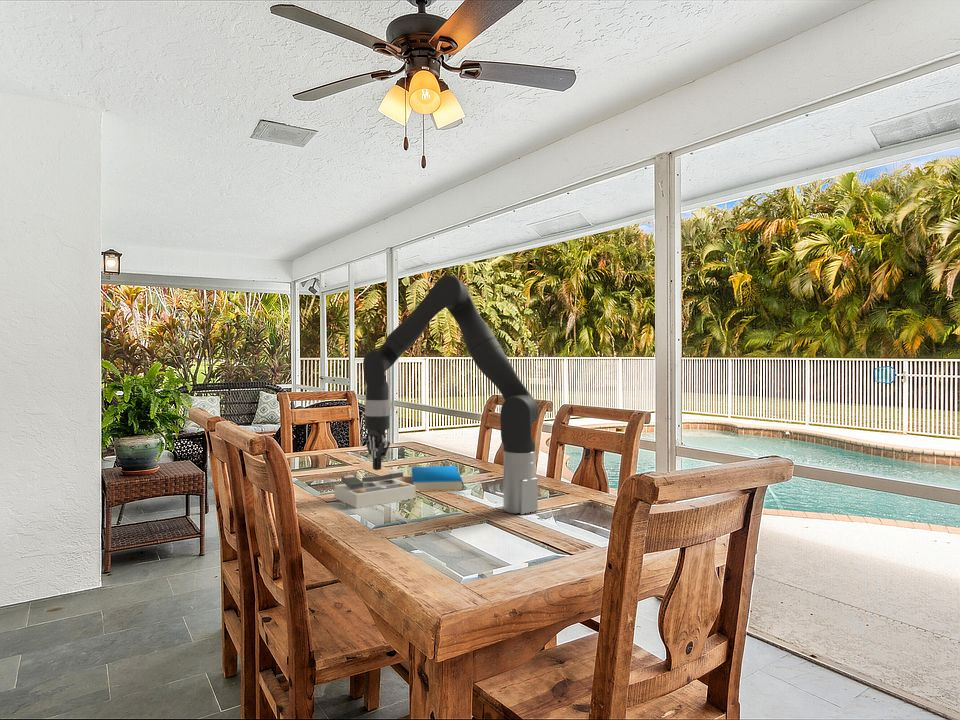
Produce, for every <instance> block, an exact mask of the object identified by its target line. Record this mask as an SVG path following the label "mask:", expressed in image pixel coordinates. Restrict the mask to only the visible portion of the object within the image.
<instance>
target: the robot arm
mask: <svg viewBox="0 0 960 720" xmlns="http://www.w3.org/2000/svg"><path fill="white" fill-rule="evenodd" d="M444 309H447V310H448V311H449V313H450V314H451V315H452V317H453V319H454V320H455V321H456V323H457V325H458V327H459V329H460V332H461V335H462V339H463V342H464V345H465V346H466V348H467V351H468V353H469V356H470V357H471V358H472V360H473V363H474V364H475V365H476V367H477V368H478V369H479V371H480V372H481V373H482V374H483V375H484V376H485V377H486V378H487V379H488V380H489V381H490V382H491V383H492V384H493V385H494V386H495V387H496V388H497V389H498V391H499V392H500V394H501V396H502V398H503V399H504V401H503V402H502V405H501V408H500V415H499V418H500V439H501V443H502V445H503V446H502V447H503V463H502V464H503V471H502V472H503V483H502V484H503V485H502V486H503V487H502V489H503V494H502V495H503V497H502V498H503V499H502V500H503V511H504V512H507V513H511V514H517V513H520V514H519V515H525V513H526V514H530V512H531V513H535V511H536V512H538V509H539V508H538V498H539V497H538V496H539V495H538V494H539V493H538V492H539V491H538V490H539V489H538V486H539V485H538V483H539V482H538V481H539V480H538V478H537V477H536V441H535V440H533V437H532V427H531V426H532V425H533V424H534V423H535V422H536V421H537V420H538V418H539V414H540V409H539V406H538V403H537V402H536V399H535V398H534V397H533V395H532V394H531V393H530V391H529V390H528V389H527V387H526V385H524V383H523V382H522V380H521V379H520V378H519V376H518V374H517V372H516V370H515V369H514V367H513V366H512V364H511V362H510V360H509V358H508V357H507V355H506V352H504V349H503V348H502V346H501V344H500V342H499V341H498V339H497V337H496V336H495V335H494V333H493V332H492V330H491V328H490V327H489V325H488V324H487V322H486V321H485V320H484V319H483V318H482V316H481V314H480V313H479V311H478V310H477V307H476V305H475V303H474V301H473V299H472V297H471V294H470V291H469V290H468V288H467V286H466V284H465V283H464V282H463V281H461V280H460V279H459V278H458V277H456V276H453V275H450V274H449V275H444V276H442V277H440V278H439V279H437V281H436V282H435V284H434V285H433V286H432V287H431V289H430V290H429V291H428V293H427V294H426V295H425V297H424V298H423V299H422V300H421V302H420V303H418V305H417V306H416V307H415V308H414V309H413V311H412V312H411V313H410V314H409V315H408V316H407V317H406V318H405V319H404V320H403V321H402V322H401V323H400V324H399V325H398V326H397V327H395V329H394V330H393V331H391V333H390V334H388V335H387V336H386V338H385V342H384V343H383V344H382V345H381V346H380V347H379V348H377V349H373V350H370V351H368V352H367V353H366V354H365V356H364V357H363V361H362V367H363V375H364V382H365V404H364V429H365V430H366V431H368V434H367V435H368V437H365V438H364V442H365V445H366V448H367V451H368V454H369V455H370V456H371V458H372V470H374V471H380V470H382V459H383V457H385V456H386V455H387V453H388V450H389V447H390V444H391V442H390V441H389V440H388V441H387V435H386V434H387V433H386V431H387V430H389V429H390V401H389V399H390V394H389V393H390V391H389V383H388V382H387V381H386V371H387V370H389V369H390V368H391V367H392V366H393V365H394V364H395V362H396V361H398V359H399V358H400V357H401V355H402V354H403V353H404V352H406V351H407V350H409V348H410V347H411V346H412V345H413V344H414V343H415V342H416V341H417V340H418V339H419V338H420V337H421V335H422V334H423V333H424V331H425V329H426V328H427V326H428V325H429V324H430V322H431V321H432V319H433V318H435V316H436V315H438V313H439V312H441V311H442V310H444Z"/></svg>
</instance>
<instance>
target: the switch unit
mask: <svg viewBox="0 0 960 720" xmlns="http://www.w3.org/2000/svg"><path fill="white" fill-rule="evenodd" d="M333 486H334V495H333V496H334V499H336V500H338V501H340V502H342V503H344V504H346V503H347V504H346V505H348V504H349V506H350V505H351V507H352V508H354V509H361V508H360V507H362V508H365V506H368V507H373V505H374V506H379V505H378V504H380V505H386V504H390V503H397V501H398V502H403V500H404V501H409V500H408V499H410V500H414V499H413V498H417V497H416V486H415V485H413V483H412V484H411V483H408V482H405V481H402V480H399V479H398V478H394V479H388V480H381V481H374V482H363V487H361V488H354V489H350V488H349V487H348V486H347V485H346V484H344V483H342V484H340V483H339V484H335V485H333ZM385 503H386V504H385Z"/></svg>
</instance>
